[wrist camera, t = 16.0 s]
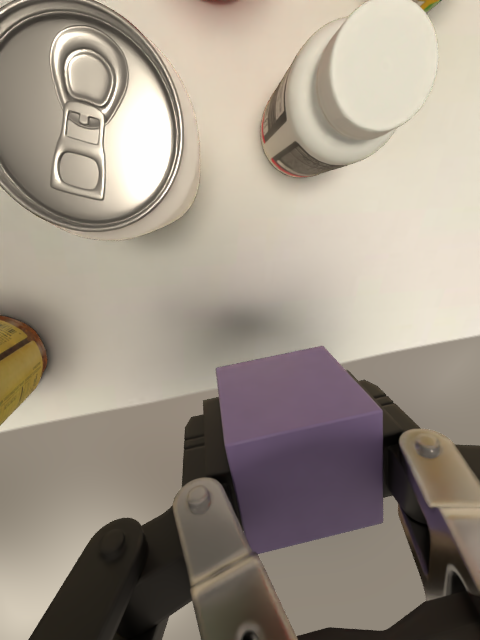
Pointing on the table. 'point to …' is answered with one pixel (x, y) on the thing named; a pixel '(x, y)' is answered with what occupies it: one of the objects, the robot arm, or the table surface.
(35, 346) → the sauce bottle
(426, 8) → the supplement bottle
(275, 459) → the purple cube
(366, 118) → the pill bottle
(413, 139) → the table surface
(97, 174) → the can
